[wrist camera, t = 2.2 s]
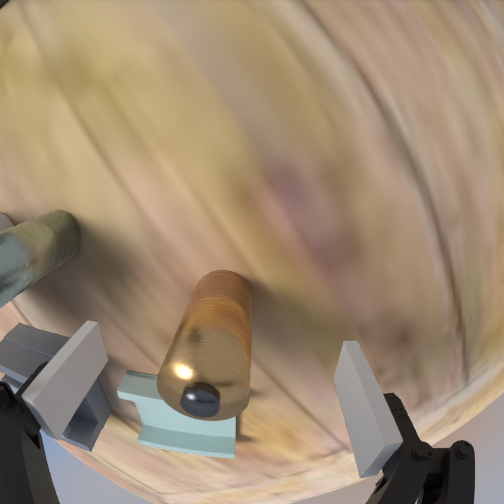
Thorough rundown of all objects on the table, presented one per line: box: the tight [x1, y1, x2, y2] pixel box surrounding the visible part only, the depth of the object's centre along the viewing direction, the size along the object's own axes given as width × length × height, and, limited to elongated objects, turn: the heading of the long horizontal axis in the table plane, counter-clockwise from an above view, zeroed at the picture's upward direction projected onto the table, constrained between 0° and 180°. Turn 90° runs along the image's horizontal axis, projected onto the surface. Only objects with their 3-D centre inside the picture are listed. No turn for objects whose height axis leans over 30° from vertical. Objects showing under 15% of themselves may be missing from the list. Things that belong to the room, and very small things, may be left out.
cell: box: [156, 270, 253, 421], centre depth 14 cm, size 4×4×10 cm
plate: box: [1, 375, 72, 440], centre depth 17 cm, size 6×6×2 cm
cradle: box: [0, 323, 111, 452], centre depth 19 cm, size 10×10×6 cm
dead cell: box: [0, 210, 80, 308], centre depth 13 cm, size 4×4×10 cm
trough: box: [116, 370, 236, 458], centre depth 22 cm, size 9×10×3 cm
